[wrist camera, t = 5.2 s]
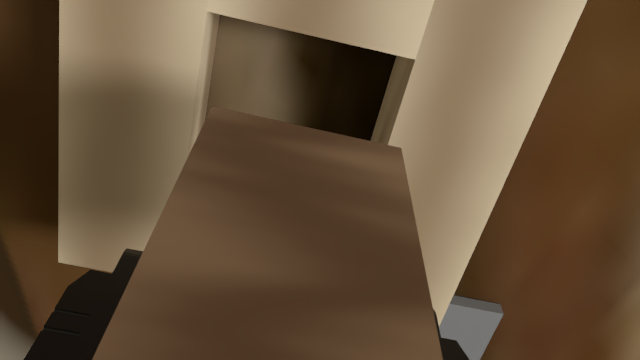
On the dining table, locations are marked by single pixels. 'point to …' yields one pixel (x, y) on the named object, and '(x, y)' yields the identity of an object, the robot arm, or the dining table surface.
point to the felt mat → (470, 324)
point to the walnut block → (280, 254)
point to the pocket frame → (324, 22)
